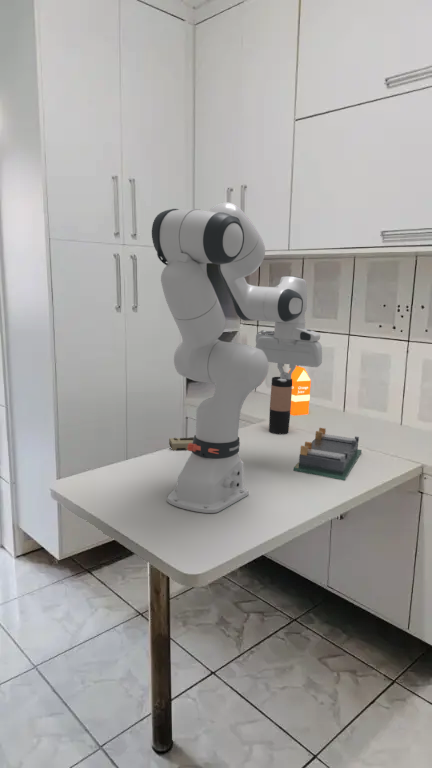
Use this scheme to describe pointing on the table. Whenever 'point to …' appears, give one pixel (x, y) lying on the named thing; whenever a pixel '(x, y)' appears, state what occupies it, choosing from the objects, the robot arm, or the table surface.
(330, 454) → the strap front
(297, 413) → the orange juice
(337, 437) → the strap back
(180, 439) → the computer
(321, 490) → the table surface
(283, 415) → the travel mug
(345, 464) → the dark piece
